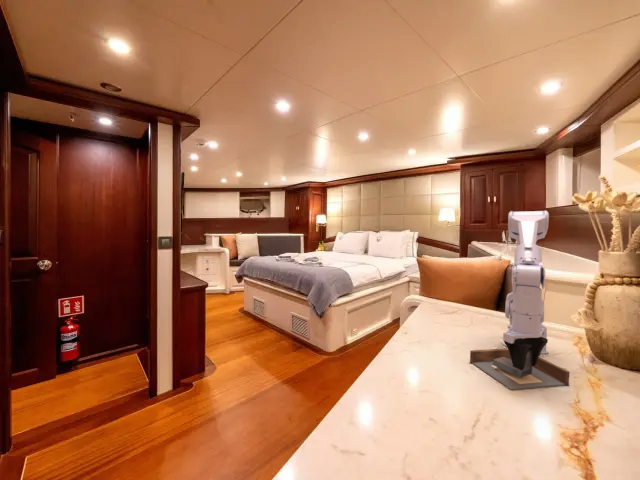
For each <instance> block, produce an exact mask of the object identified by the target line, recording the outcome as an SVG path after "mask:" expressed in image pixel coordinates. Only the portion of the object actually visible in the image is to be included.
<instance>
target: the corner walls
mask: <svg viewBox="0 0 640 480" xmlns="http://www.w3.org/2000/svg"><path fill="white" fill-rule="evenodd" d="M469 351H470V352H469V362H471V364H472V363H473V362H488V361H493V360H494V359H497V358H501V357H506V358H509V359H511V356H510V353H509V350H508V348H507V347H505V348H493V349H492V348H491V349H474V350H473V349H472V350H469ZM533 367H534V368H536V369H538V370H540V371H542V372H544V373H546V374H547V375H549V376H551V377H553V378H555V379H557V380H559V381H560V382H562V383H564V384H567V385H568V384H569V385H570V371H568V370H567V369H565V368H563V367H560V366H559V365H556V364H554V363H552V362H550V361H548V360H546V359H544V358H542V357H541V356H539V358H538V361H537V363H536V366H533ZM569 385H568V386H569Z"/></svg>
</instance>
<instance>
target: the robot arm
mask: <svg viewBox="0 0 640 480" xmlns="http://www.w3.org/2000/svg"><path fill="white" fill-rule="evenodd" d="M549 217H550V214H549V212H548V211H547V210H546V209H545V210H534V211H532V210H531V211H530V210H529V211H528V210H527V211H513V210H510V211H509V212H508V217H507V218H508V219H507V220H508V221H507V230H508V235H509V238H511V239H514V240H516V243H517V246H516V247H515V249H514V259H513V260H514V261H513V262H514V263H513V265H512V266H511V286H512V291H511V292H509V293H507V295H506V298H505V299H506V300H505V308H504V315H505V318H506V319H509V324H508V325H507V330H506V332H503V334H502V335H503V338H502V340H503V343H502V344H501V345H502V346H503V347H505V348H508V350H509V353H510V356H511V360H512V364H513V367H515V368H517V369H520V370H523V369H524V367H525V361H526V356H527V353H528V351H529V349H530V350H533V357H532V366H536V363H537V361H538V358H539V357H540V356H541V355H546V354H547V355H549V353H550V352H549V351H548V350H547V344H548V341H549V340H548V334H547V332H548V328H547V327H546V326H544V324H543V323H544V321H545V305H544V304H545V302H544V299H543V295H542V294H543V290H544V288H545V284H546V269H545V265H544V262H543V261H542V258H543V257H542V249H541V247H540V246H539V245H538V244H537V241H538V240H541V239H545V237H546V235H547V233H548V230H549V223H550V222H549V219H550V218H549ZM541 288H542V289H541Z"/></svg>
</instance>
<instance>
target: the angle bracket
mask: <svg viewBox="0 0 640 480" xmlns="http://www.w3.org/2000/svg"><path fill="white" fill-rule="evenodd" d="M532 357H533V350H530V349H529V351H528V353H527V356H526V361H525V367H524V369H523V370H520V369H517V368H515V367H513V364H512V360H511V359H509V358H506V357H501V358H497V359H494V360H493V365H494V366H496V367H499V368H501V369H503V370H505V371H507V372H510V373H512V374H514V375H516V376H519V377H521V378H522V377H524V376H527V375H530V374H532Z"/></svg>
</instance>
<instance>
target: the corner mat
mask: <svg viewBox="0 0 640 480" xmlns="http://www.w3.org/2000/svg"><path fill="white" fill-rule="evenodd" d="M469 362H470V361H469ZM470 363H471V362H470ZM471 364H472V365H473V366H474V367H476V368H477V369H479V370H481V371H482V372H484V373H485V374H486V375H488V376H489V377H490V378H492V379H493V380H495V381H497V382H498V383H499V384H501V385H503V386H504V387H505V388H507V389H508V390H509V391H518V390H520V391H521V390H529V389H530V390H531V389H543V388H554V387H555V388H556V387H566V386H570V383H569V384H568V385H567V384H564V383H562V382H560V381H559V380H557V379H555V378H553V377H551V376H549V375H547V374H546V373H544V372H542V371H540V370H538V369H536V368H534V367H533V366H532V374H530V375H527V376H524V377H522V378H521V377H519V376H516V375H514V374H512V373H510V372H507V371H505V370H503V369H501V368H499V367H496V366H494V365H493V361H488V362H473V363H471Z"/></svg>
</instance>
